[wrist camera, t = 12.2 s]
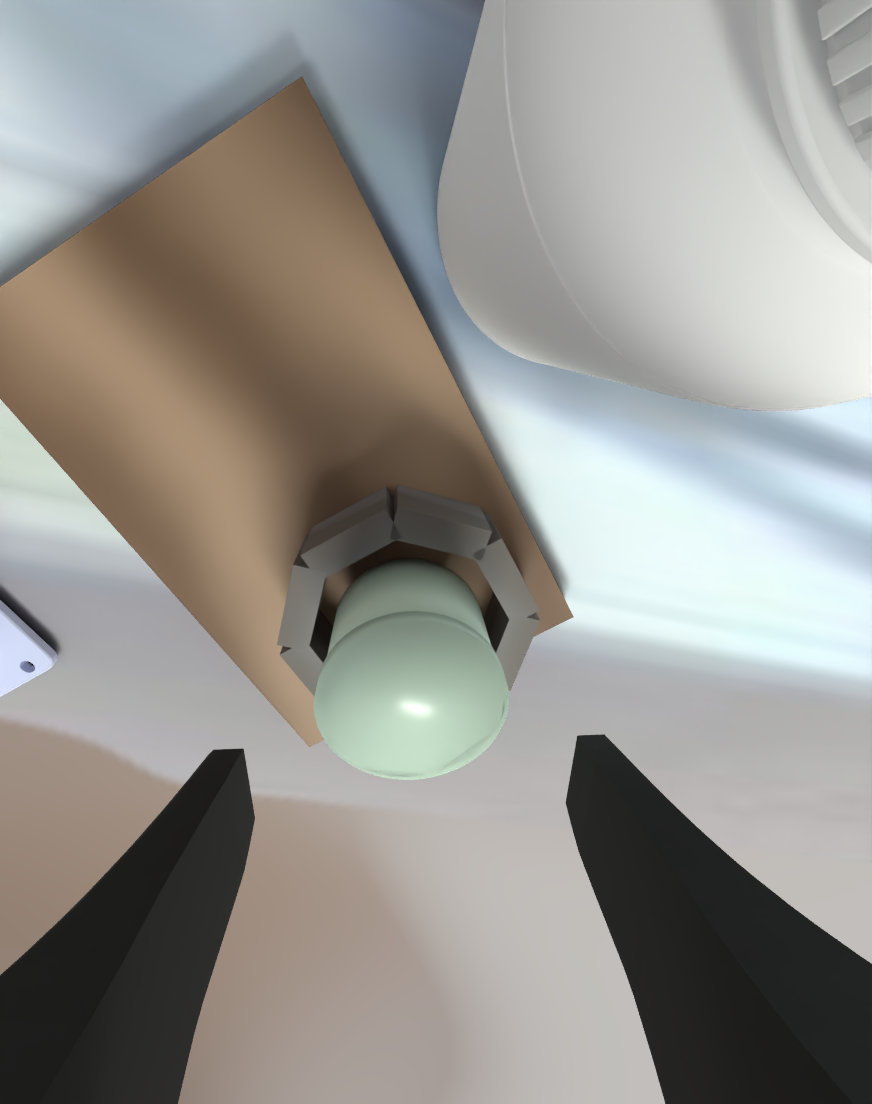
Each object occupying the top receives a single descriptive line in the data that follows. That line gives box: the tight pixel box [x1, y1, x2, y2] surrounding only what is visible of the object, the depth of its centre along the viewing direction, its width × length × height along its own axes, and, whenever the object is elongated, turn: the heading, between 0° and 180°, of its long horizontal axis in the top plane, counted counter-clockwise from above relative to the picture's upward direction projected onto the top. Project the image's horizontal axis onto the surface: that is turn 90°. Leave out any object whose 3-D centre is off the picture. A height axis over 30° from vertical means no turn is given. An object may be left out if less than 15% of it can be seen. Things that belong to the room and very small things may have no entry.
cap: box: [314, 559, 509, 780], centre depth 15 cm, size 5×5×4 cm
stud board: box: [0, 77, 573, 747], centre depth 16 cm, size 12×18×4 cm, turn 29°
